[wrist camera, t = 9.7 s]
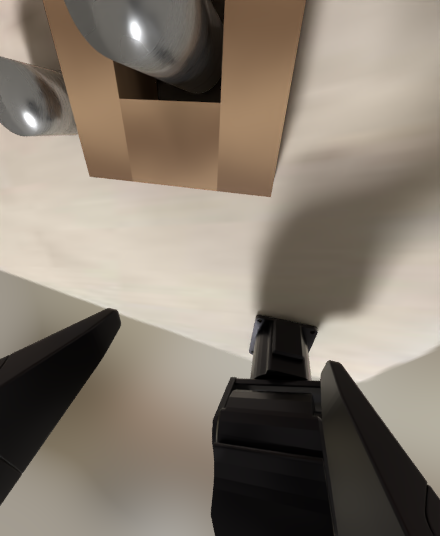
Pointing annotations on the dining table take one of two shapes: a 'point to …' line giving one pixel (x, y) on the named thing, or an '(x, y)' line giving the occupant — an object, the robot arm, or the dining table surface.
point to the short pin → (34, 100)
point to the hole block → (187, 105)
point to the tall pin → (156, 37)
